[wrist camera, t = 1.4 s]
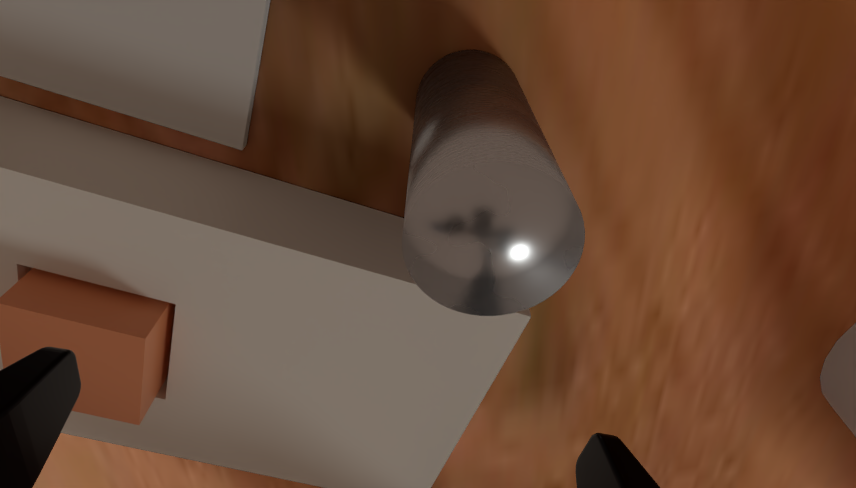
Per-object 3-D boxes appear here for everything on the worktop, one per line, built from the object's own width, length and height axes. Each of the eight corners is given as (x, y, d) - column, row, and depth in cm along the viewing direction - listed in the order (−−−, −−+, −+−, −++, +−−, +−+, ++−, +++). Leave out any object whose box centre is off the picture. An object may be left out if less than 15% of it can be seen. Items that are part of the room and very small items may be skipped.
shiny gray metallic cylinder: (539, 71, 17) (619, 196, 10) (496, 166, 19) (536, 332, 12) (436, 33, 17) (437, 135, 9) (402, 135, 19) (380, 290, 11)
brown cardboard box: (194, 266, 20) (145, 339, 17) (184, 346, 22) (139, 425, 19) (72, 233, 19) (-6, 302, 16) (74, 320, 21) (6, 396, 18)
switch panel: (515, 252, 21) (531, 316, 18) (421, 433, 27) (419, 507, 24) (-23, 88, 18) (-129, 130, 15) (7, 337, 24) (-63, 406, 21)
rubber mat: (281, -70, 15) (277, -69, 15) (246, 144, 19) (241, 150, 18) (-16, -183, 14) (-30, -186, 14) (6, 70, 18) (-5, 74, 17)
